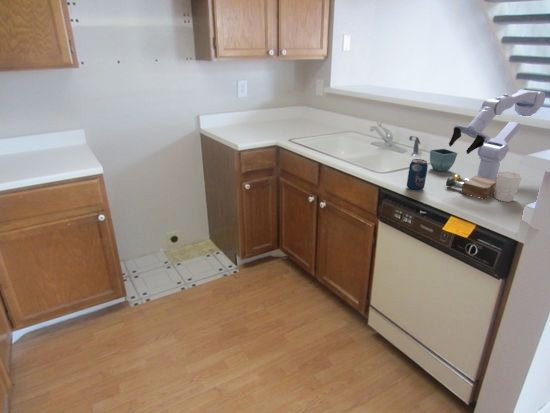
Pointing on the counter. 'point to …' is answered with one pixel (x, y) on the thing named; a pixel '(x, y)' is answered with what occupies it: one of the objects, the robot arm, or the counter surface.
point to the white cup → (507, 185)
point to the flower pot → (442, 159)
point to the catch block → (479, 187)
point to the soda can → (417, 174)
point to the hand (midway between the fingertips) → (458, 148)
